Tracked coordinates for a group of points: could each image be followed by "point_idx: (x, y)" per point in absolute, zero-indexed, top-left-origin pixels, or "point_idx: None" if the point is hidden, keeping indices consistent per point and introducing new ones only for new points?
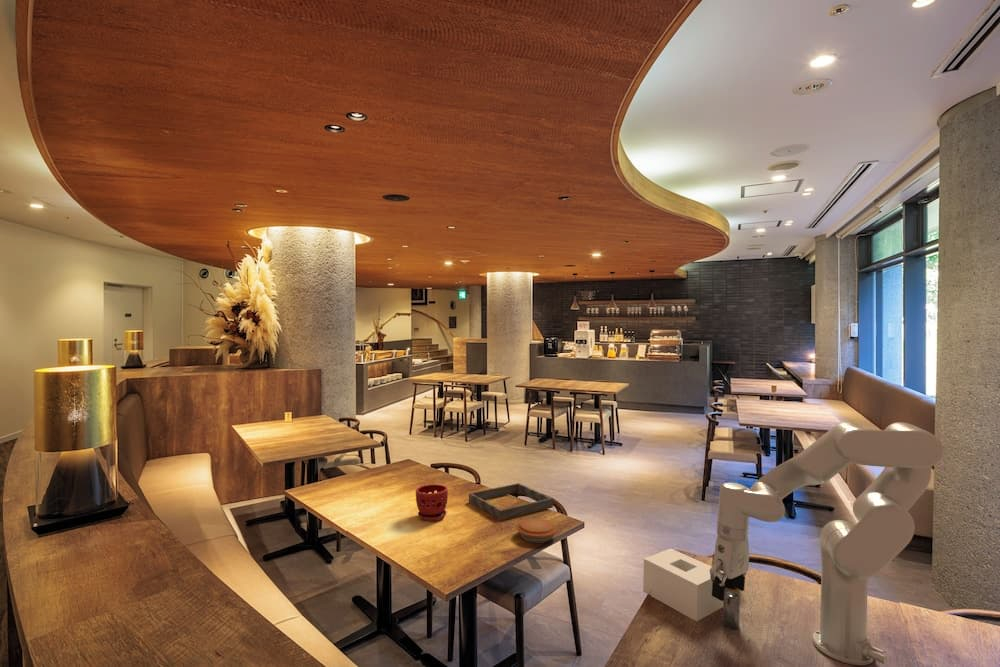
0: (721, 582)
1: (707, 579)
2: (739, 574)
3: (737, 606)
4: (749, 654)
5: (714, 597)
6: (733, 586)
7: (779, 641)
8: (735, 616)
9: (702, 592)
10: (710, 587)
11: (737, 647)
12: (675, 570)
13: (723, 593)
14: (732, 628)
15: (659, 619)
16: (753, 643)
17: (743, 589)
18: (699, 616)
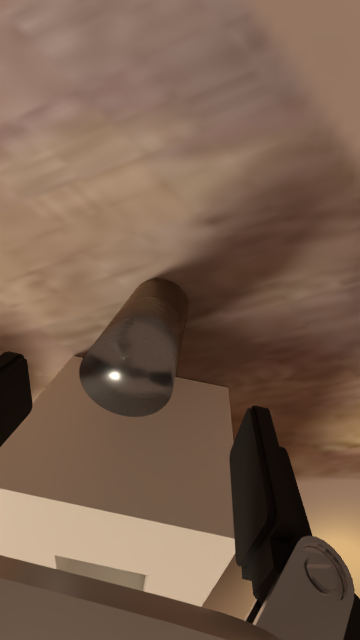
0: (350, 610)
1: (134, 520)
2: (18, 613)
3: (151, 324)
4: (324, 178)
5: None
6: (31, 403)
7: (112, 100)
8: (170, 306)
9: (195, 470)
10: (126, 460)
11: (300, 237)
12: (174, 595)
13: (279, 455)
14: (183, 294)
15: (292, 453)
16: (222, 195)
17: (10, 357)
18: (213, 393)
